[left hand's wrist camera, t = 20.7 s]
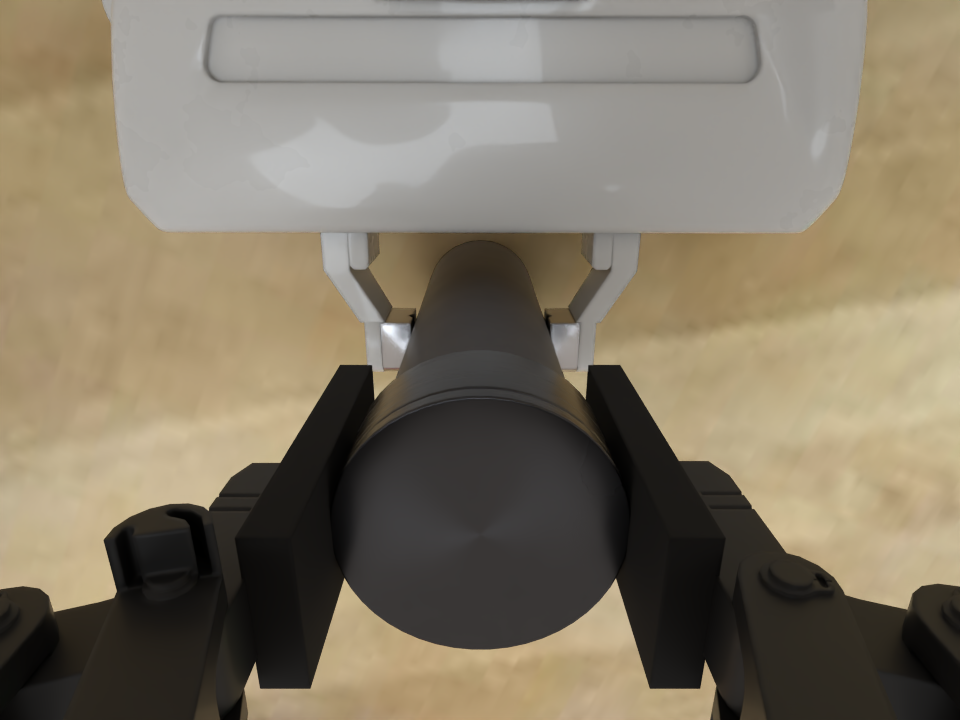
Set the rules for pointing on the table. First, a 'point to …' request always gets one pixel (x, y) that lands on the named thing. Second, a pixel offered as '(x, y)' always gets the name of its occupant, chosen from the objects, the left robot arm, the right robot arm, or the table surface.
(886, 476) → the table surface
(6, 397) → the table surface
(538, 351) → the dark grey cylinder
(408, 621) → the lid
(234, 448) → the table surface
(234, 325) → the table surface
